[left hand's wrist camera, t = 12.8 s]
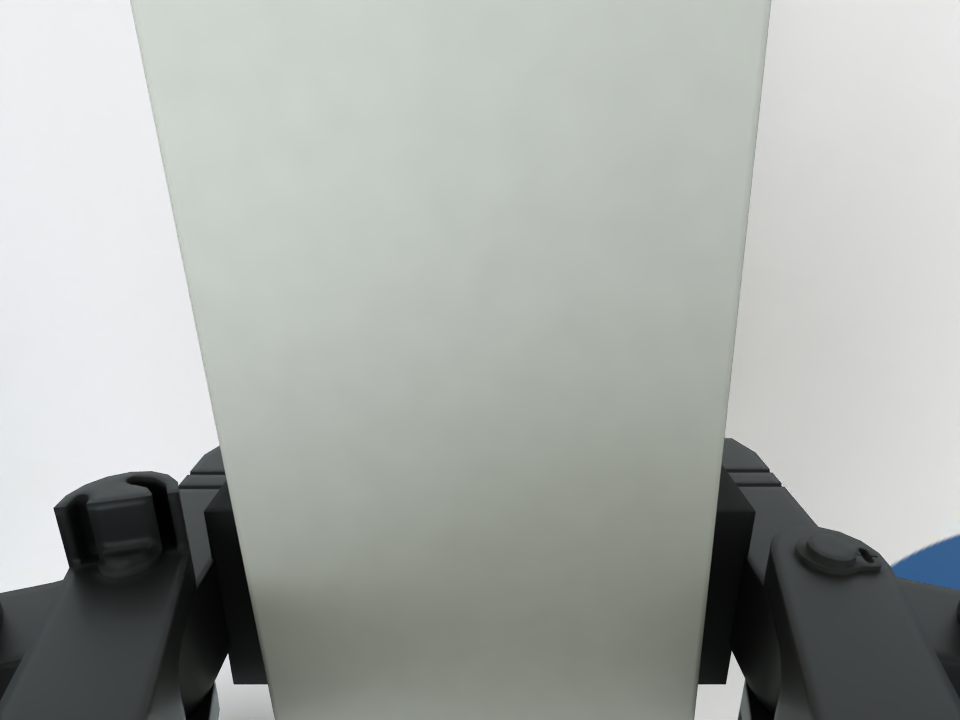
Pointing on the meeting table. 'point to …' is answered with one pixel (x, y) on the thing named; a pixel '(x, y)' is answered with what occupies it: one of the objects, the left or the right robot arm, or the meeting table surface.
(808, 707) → the left robot arm
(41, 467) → the meeting table surface
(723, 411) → the bar
